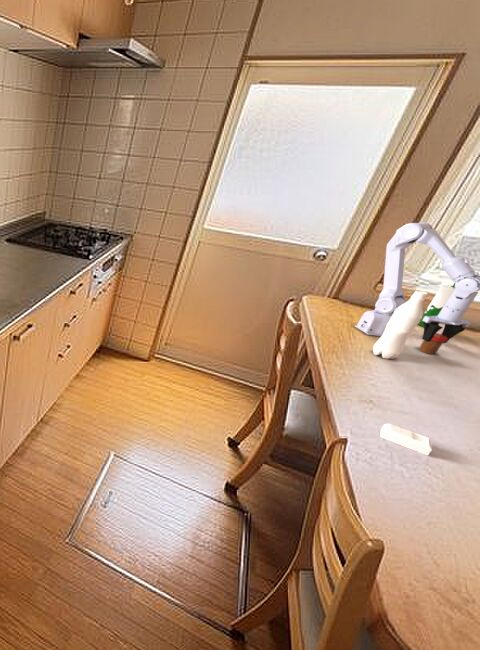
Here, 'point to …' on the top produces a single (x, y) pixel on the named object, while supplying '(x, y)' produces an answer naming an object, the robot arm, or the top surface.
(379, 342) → the water bottle
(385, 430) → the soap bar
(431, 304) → the milk carton
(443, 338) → the lid
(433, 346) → the jar
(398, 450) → the top surface
